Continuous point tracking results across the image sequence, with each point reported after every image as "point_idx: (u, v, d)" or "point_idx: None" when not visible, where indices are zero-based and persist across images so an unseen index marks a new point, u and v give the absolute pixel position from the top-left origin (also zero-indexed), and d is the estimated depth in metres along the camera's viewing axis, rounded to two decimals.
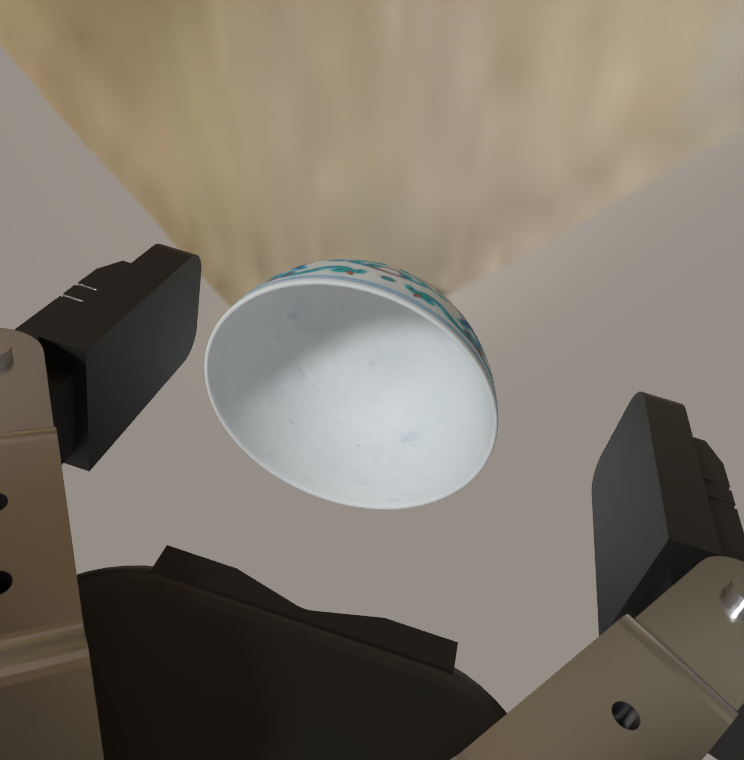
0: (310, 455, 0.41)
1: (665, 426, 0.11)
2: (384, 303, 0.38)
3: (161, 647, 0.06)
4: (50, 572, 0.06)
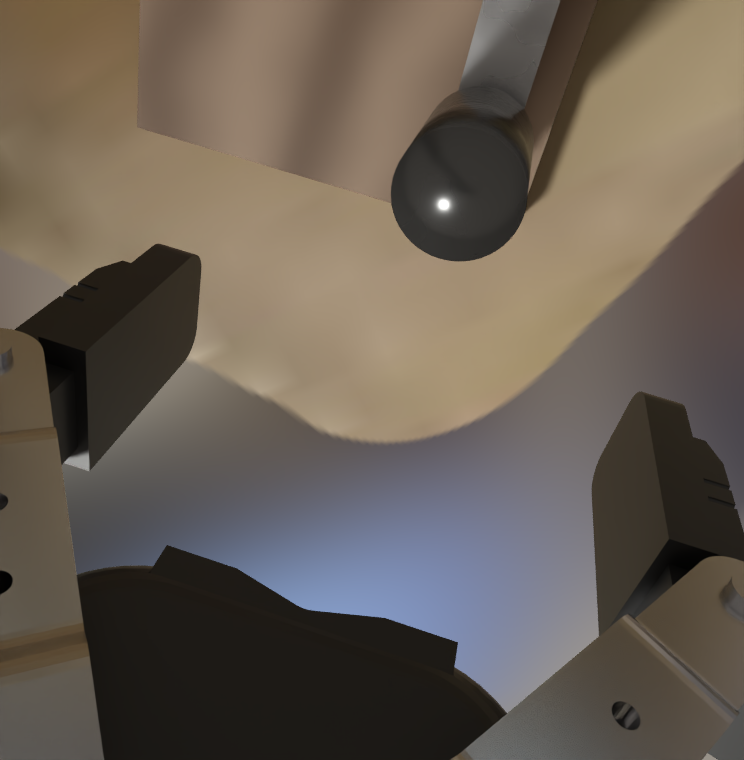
0: None
1: (665, 426, 0.11)
2: None
3: (161, 647, 0.06)
4: (51, 574, 0.06)
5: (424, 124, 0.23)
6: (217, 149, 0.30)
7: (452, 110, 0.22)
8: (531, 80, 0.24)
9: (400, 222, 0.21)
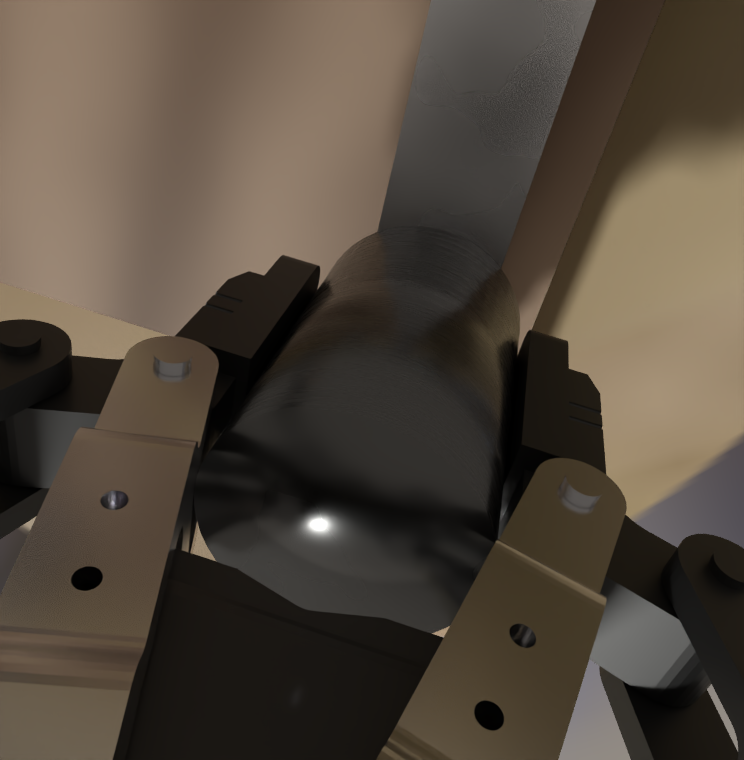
0: None
1: (544, 357, 0.12)
2: None
3: (161, 647, 0.06)
4: (136, 584, 0.06)
5: (297, 320, 0.11)
6: (16, 285, 0.19)
7: (339, 317, 0.10)
8: (513, 219, 0.12)
9: None
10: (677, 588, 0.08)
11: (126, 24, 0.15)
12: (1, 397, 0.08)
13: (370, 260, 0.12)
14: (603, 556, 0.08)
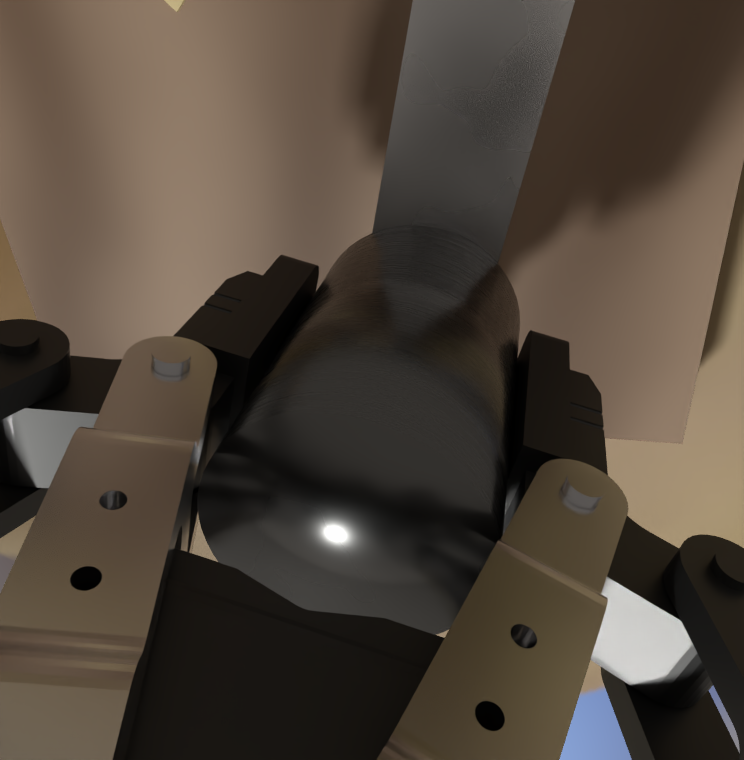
0: None
1: (545, 358, 0.12)
2: None
3: (161, 647, 0.06)
4: (135, 584, 0.06)
5: (295, 325, 0.11)
6: None
7: (335, 320, 0.10)
8: (508, 213, 0.12)
9: None
10: (679, 589, 0.08)
11: (242, 140, 0.15)
12: (0, 397, 0.08)
13: (365, 261, 0.12)
14: (605, 557, 0.08)
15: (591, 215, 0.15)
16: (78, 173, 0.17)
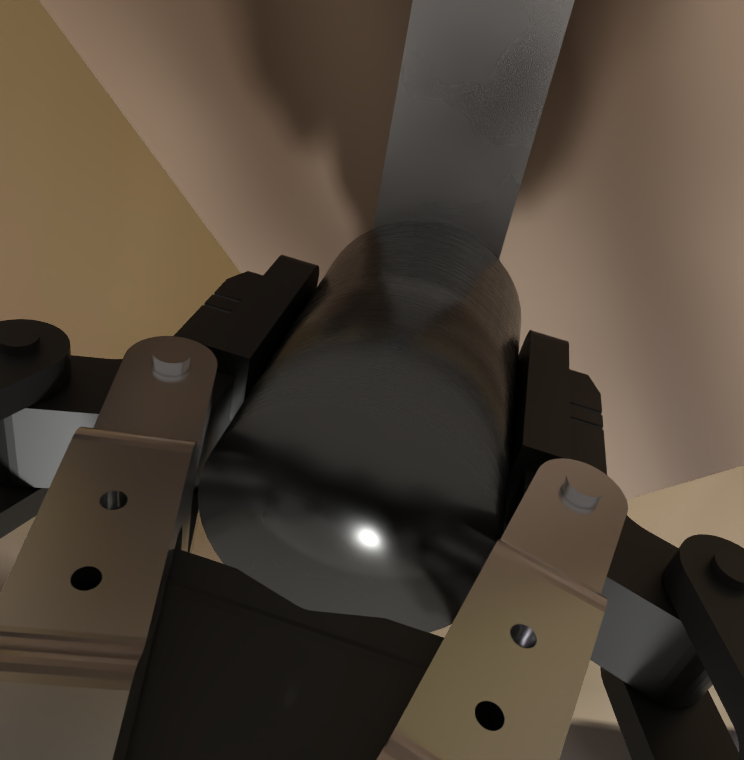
0: None
1: (545, 358, 0.12)
2: None
3: (161, 647, 0.06)
4: (135, 584, 0.06)
5: None
6: None
7: (336, 314, 0.10)
8: (509, 209, 0.12)
9: None
10: (678, 588, 0.08)
11: (554, 239, 0.15)
12: (0, 397, 0.08)
13: (366, 257, 0.12)
14: (604, 557, 0.08)
15: None
16: None
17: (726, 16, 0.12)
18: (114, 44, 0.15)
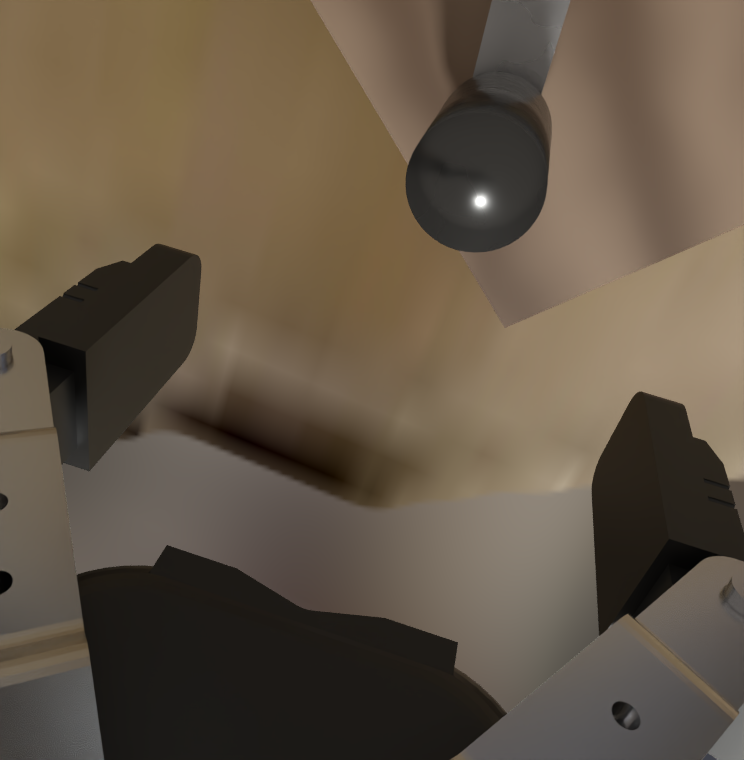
0: None
1: (665, 426, 0.11)
2: None
3: (161, 647, 0.06)
4: (52, 574, 0.06)
5: None
6: (582, 292, 0.30)
7: (467, 96, 0.21)
8: (548, 64, 0.23)
9: (416, 214, 0.21)
10: None
11: (579, 97, 0.26)
12: None
13: (474, 83, 0.23)
14: None
15: None
16: None
17: None
18: None
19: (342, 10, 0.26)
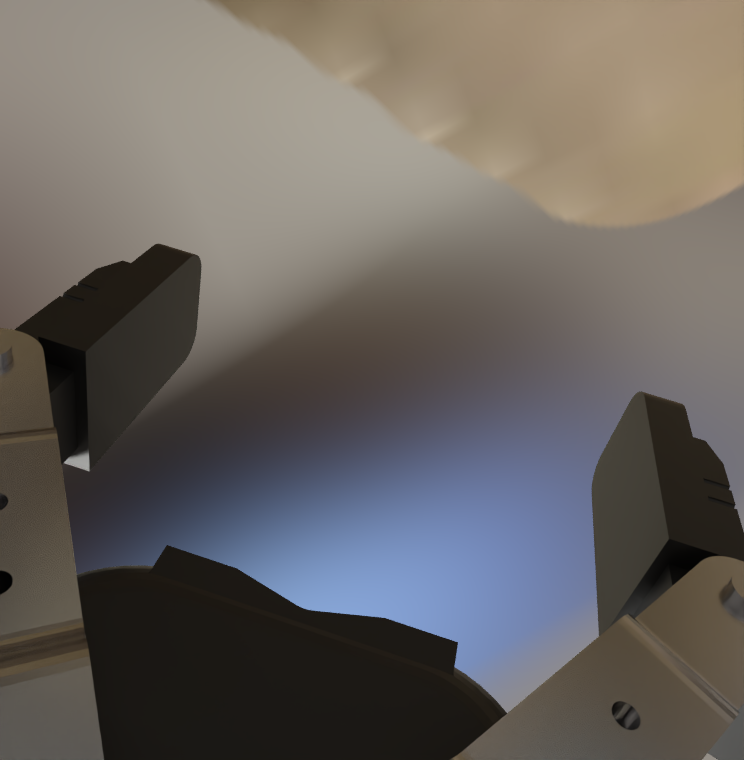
0: None
1: (665, 426, 0.11)
2: None
3: (161, 647, 0.06)
4: (50, 574, 0.06)
5: None
6: None
7: None
8: None
9: None
10: None
11: None
12: None
13: None
14: None
15: None
16: None
17: None
18: None
19: None
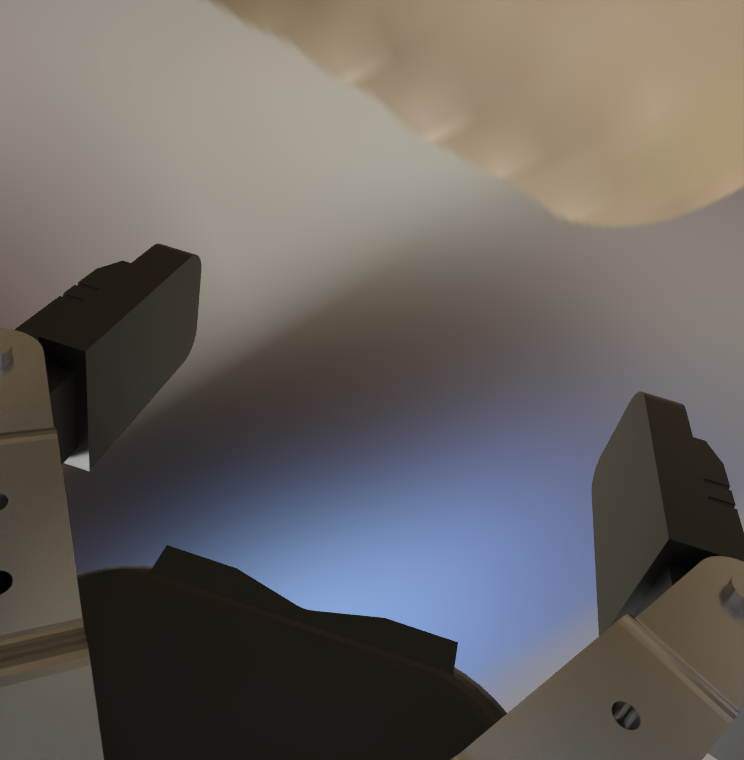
0: None
1: (665, 426, 0.11)
2: None
3: (161, 646, 0.06)
4: (50, 574, 0.06)
5: None
6: None
7: None
8: None
9: None
10: None
11: None
12: None
13: None
14: None
15: None
16: None
17: None
18: None
19: None
